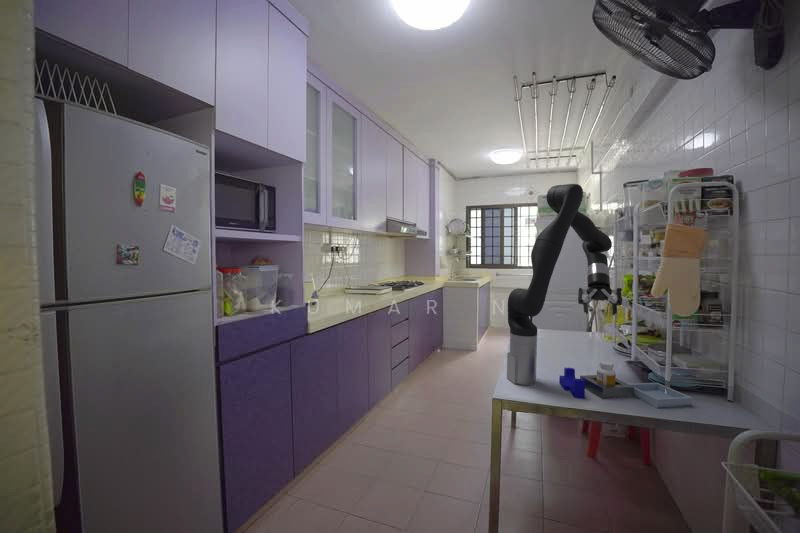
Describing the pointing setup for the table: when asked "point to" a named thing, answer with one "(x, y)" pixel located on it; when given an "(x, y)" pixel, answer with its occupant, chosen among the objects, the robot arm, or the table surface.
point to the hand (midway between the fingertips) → (600, 313)
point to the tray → (660, 395)
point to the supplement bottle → (606, 373)
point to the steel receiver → (608, 388)
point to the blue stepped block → (572, 383)
